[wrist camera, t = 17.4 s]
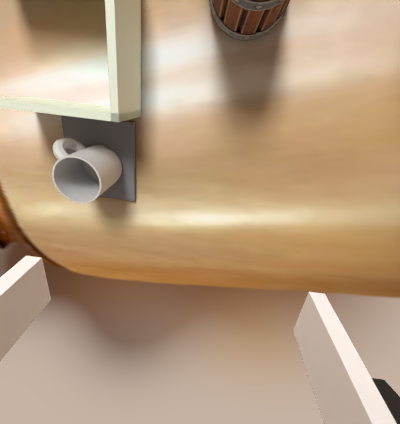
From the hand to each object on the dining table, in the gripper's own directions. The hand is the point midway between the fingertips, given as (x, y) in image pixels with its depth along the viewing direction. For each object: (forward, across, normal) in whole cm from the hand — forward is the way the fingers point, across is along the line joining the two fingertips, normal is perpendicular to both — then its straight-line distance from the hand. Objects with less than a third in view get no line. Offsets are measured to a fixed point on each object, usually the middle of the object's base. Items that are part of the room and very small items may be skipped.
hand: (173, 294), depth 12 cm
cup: (+32, -18, -3) cm, 37 cm away
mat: (+33, -18, -3) cm, 37 cm away
